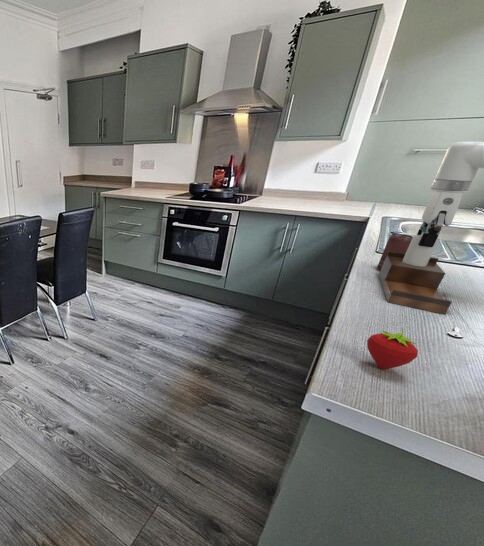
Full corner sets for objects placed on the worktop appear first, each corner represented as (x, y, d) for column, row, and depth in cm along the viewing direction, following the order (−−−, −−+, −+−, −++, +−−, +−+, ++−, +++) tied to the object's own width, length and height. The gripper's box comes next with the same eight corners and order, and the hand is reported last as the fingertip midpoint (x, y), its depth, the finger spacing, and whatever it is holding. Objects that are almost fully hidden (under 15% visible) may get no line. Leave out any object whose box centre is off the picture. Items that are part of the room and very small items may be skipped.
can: (384, 267, 121) (399, 232, 115) (402, 273, 115) (419, 237, 109) (371, 268, 120) (385, 233, 114) (389, 274, 114) (405, 238, 108)
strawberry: (359, 354, 71) (376, 316, 67) (405, 369, 66) (426, 329, 62) (357, 366, 67) (374, 327, 63) (406, 384, 62) (428, 342, 58)
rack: (425, 284, 106) (437, 258, 103) (445, 314, 87) (461, 284, 84) (378, 275, 113) (388, 250, 109) (387, 302, 94) (400, 273, 90)
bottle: (424, 262, 103) (441, 227, 98) (428, 267, 99) (445, 231, 94) (400, 259, 106) (416, 224, 101) (403, 263, 102) (419, 228, 97)
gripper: (478, 190, 84) (447, 253, 91) (459, 184, 97) (433, 240, 104) (438, 188, 88) (411, 248, 95) (425, 182, 101) (402, 236, 108)
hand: (423, 243), depth 100 cm, fingers closed on bottle, 5 cm apart
